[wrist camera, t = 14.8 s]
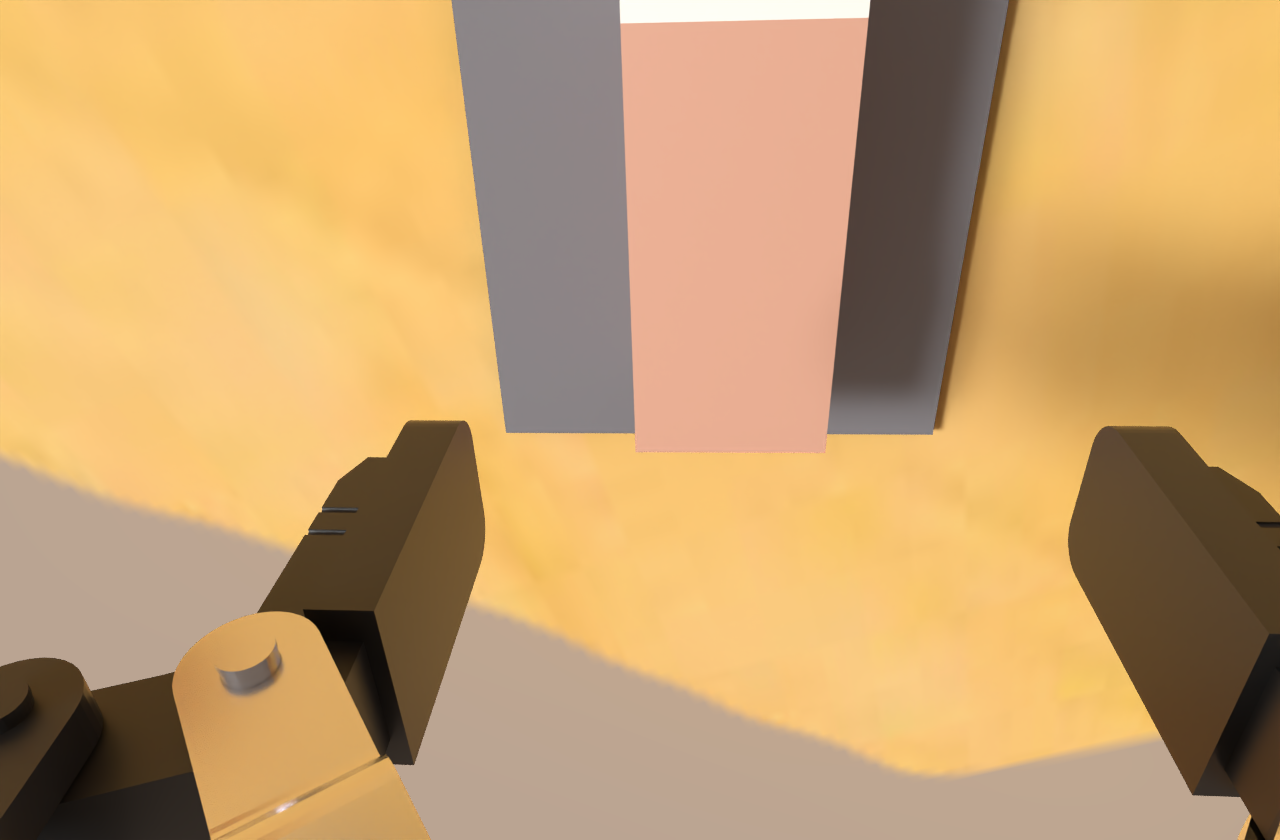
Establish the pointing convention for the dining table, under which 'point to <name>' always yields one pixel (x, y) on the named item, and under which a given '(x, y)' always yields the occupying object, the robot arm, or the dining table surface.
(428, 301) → the dining table surface
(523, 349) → the mat
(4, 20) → the dining table surface
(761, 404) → the block
